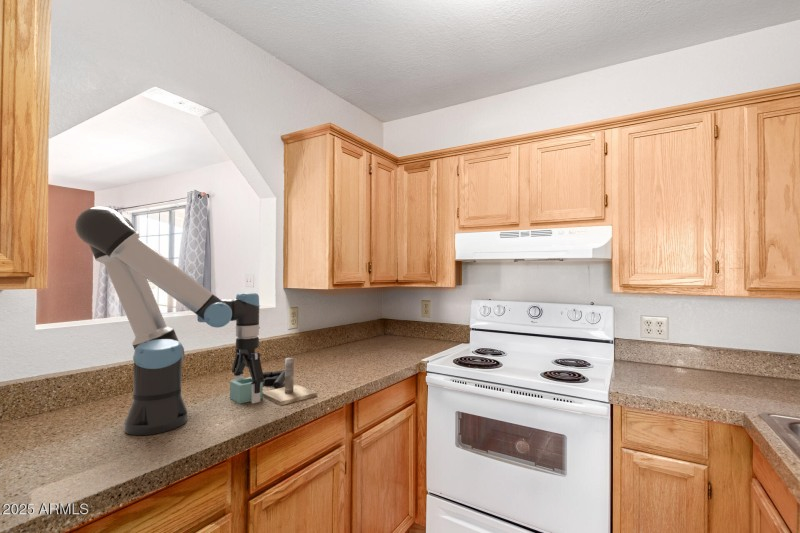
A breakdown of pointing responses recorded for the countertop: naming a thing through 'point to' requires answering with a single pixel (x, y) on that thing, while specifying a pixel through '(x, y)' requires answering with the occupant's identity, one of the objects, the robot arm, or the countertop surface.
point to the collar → (243, 390)
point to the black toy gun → (274, 378)
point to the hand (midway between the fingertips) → (247, 397)
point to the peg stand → (289, 388)
